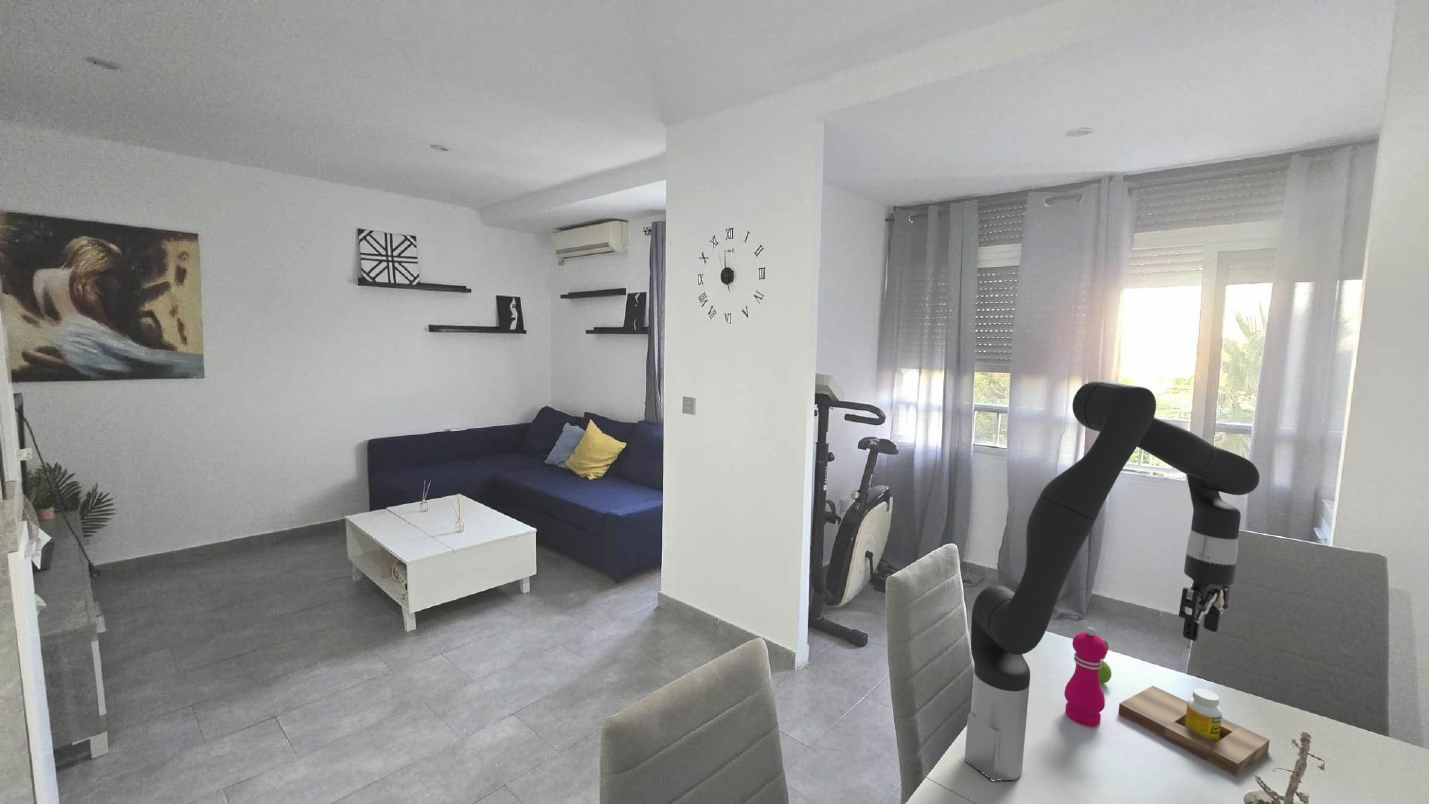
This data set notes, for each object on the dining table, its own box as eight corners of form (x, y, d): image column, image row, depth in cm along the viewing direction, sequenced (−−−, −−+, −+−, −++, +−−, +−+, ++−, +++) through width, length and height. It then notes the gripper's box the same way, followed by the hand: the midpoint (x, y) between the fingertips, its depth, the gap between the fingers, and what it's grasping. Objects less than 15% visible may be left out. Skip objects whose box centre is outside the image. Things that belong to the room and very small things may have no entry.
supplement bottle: (1189, 726, 121) (1194, 683, 120) (1222, 741, 117) (1228, 696, 116) (1179, 735, 118) (1184, 691, 117) (1212, 751, 114) (1218, 705, 113)
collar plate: (1236, 776, 107) (1238, 764, 107) (1118, 714, 125) (1119, 703, 124) (1268, 751, 114) (1269, 739, 114) (1151, 696, 131) (1153, 685, 131)
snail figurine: (1074, 679, 137) (1079, 630, 136) (1092, 673, 140) (1096, 625, 139) (1098, 692, 133) (1103, 641, 131) (1115, 685, 135) (1120, 636, 134)
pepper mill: (1091, 708, 127) (1099, 620, 124) (1110, 730, 119) (1119, 637, 117) (1056, 705, 127) (1064, 618, 125) (1073, 727, 120) (1081, 635, 118)
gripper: (1217, 568, 108) (1206, 651, 109) (1251, 557, 114) (1240, 635, 116) (1170, 554, 114) (1160, 633, 116) (1205, 544, 121) (1195, 619, 123)
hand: (1200, 634), depth 116 cm, fingers open, 8 cm apart
